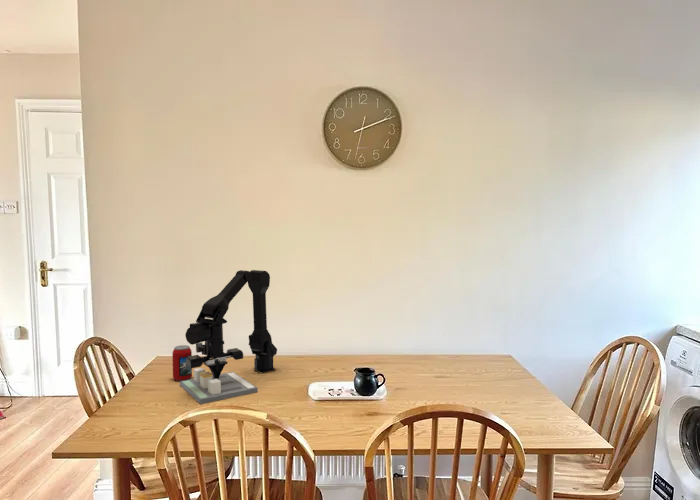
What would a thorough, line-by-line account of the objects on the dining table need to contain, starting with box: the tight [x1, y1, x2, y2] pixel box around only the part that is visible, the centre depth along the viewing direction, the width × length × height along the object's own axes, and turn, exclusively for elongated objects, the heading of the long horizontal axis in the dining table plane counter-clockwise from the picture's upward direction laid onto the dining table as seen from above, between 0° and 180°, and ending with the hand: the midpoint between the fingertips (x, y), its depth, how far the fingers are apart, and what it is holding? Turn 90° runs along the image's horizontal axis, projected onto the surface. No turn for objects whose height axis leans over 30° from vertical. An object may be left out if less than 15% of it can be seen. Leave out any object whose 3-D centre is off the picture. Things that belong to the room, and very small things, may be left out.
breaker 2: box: [208, 379, 221, 395], centre depth 166 cm, size 3×4×4 cm
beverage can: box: [172, 344, 193, 382], centre depth 185 cm, size 7×7×12 cm
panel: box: [179, 371, 259, 405], centre depth 175 cm, size 20×22×2 cm
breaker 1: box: [193, 367, 206, 383], centre depth 179 cm, size 3×4×4 cm
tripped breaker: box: [200, 371, 212, 389], centre depth 172 cm, size 3×4×4 cm
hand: (216, 381), depth 174 cm, fingers closed
